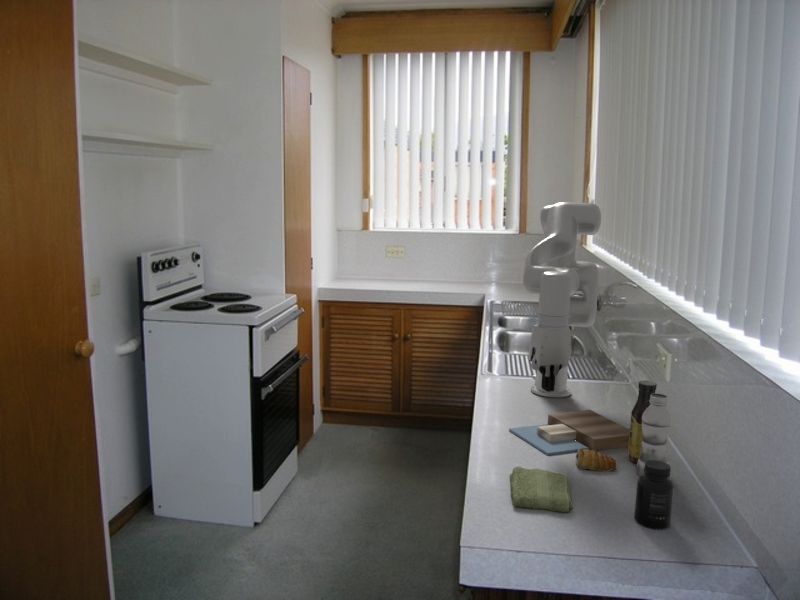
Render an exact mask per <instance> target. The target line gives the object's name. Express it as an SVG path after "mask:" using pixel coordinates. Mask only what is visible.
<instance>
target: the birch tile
mask: <svg viewBox="0 0 800 600" xmlns="http://www.w3.org/2000/svg"><path fill="white" fill-rule="evenodd" d="M576 433H577V431H575V430H573V429H571V428H570V427H568V426H566V425H564V424H557V425H549V426H540V427H537V434H538V435H539V436H541V437H543V438H544V439H546V440H548V441H549V442H555V441H562V440H570V439H576Z"/></svg>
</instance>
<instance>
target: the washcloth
mask: <svg viewBox="0 0 800 600" xmlns="http://www.w3.org/2000/svg"><path fill="white" fill-rule="evenodd" d="M509 483H510V484H509V485H510V487H509V489H510V497H511V501H512V503H511V504H512V505H513V506H514V507H519V508H529V509H534V510H537V509H541V510H549V511H551V512H553V511H555V512H560V513H562V512H563V513H569V512H570V510H572V509H573V507H574V506H573V503H572V499H571V493H570V481H569V477H568V475H567V474H564V473H562V472H557V471H556V472H555V471H550V470H546V469H540V468H526V467H522V466H516V467H513V469H512V473H509Z"/></svg>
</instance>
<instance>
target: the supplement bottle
mask: <svg viewBox="0 0 800 600" xmlns="http://www.w3.org/2000/svg"><path fill="white" fill-rule="evenodd" d="M670 477H671V465H670V464H669V463H667V462H666V463H665V462H662V461H656V460H650V461H646V462H645V466H644V474H642V475H640V476H639V477H638V478H637V483H636V484H637V485H636V494H635V503H634V512H633V513H634V515H633V517H634V520H635V522H636V523H638V524H639V525H640V526H641V527H645V528H647V529H652V530H665V529H667V528H668V527H670V525H671V519H672V512H673V503H674V493H675V483H674V481H673V480H672V478H670Z"/></svg>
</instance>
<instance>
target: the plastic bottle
mask: <svg viewBox="0 0 800 600" xmlns="http://www.w3.org/2000/svg"><path fill="white" fill-rule="evenodd" d="M649 403H650V406H649V407H648V408H647V409H646V410H645V411H644V412H643V415H642V446H641V451H640V456H639V459H638V462H637V463H636V467H635V468H636V469H635V471H636V476H637V477H638V478H639V476H640V475H642V474H644V466H645V462H646V461H650V460H656V461H662V462H665V463H667V462H666V461H667V444H668V439H669V435H670V431H671V426H672V421H673V419H672V415H671V413H670V411H669V409H668V408H667V407H666V406H668V395H666V394H664V393H656V392H655V393H653V394H651V395H650V400H649Z"/></svg>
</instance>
